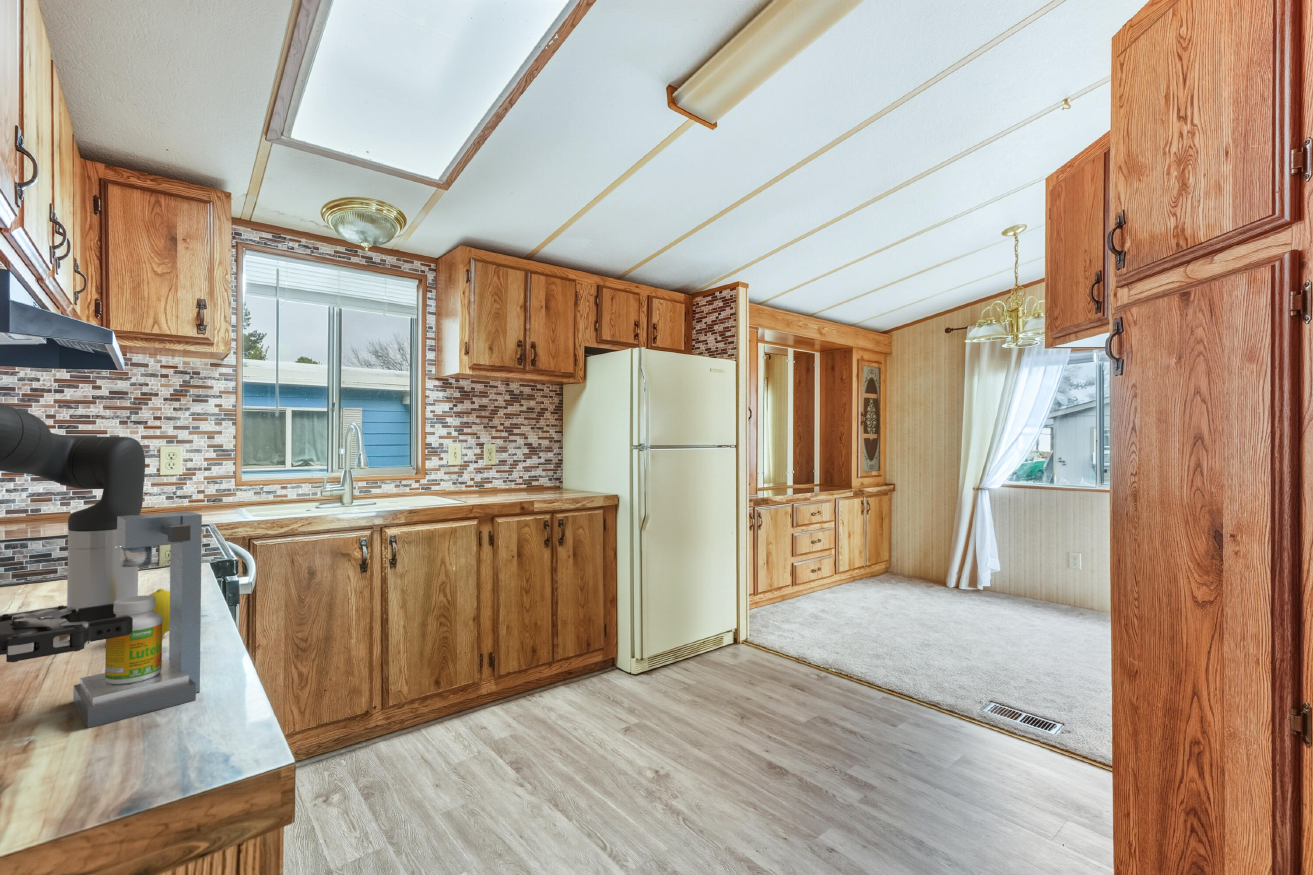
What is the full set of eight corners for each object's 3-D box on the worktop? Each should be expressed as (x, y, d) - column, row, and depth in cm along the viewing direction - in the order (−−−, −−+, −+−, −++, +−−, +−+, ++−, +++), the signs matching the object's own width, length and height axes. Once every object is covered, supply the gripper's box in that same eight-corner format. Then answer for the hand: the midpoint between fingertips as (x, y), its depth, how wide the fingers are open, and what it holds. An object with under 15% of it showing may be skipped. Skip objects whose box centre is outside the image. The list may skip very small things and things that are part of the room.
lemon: (154, 632, 104) (154, 585, 104) (188, 631, 104) (189, 584, 104) (128, 643, 98) (129, 593, 98) (165, 642, 99) (166, 592, 99)
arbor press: (73, 701, 76) (75, 516, 76) (182, 675, 85) (184, 509, 85) (93, 738, 67) (96, 527, 67) (214, 705, 75) (216, 518, 75)
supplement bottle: (128, 687, 73) (129, 605, 73) (93, 683, 74) (94, 603, 74) (172, 670, 78) (173, 595, 79) (138, 667, 80) (139, 592, 80)
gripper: (-80, 628, 59) (138, 596, 71) (-80, 603, 68) (113, 579, 80) (-82, 706, 59) (137, 661, 71) (-81, 671, 68) (113, 636, 80)
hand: (124, 617), depth 76 cm, fingers open, 8 cm apart
